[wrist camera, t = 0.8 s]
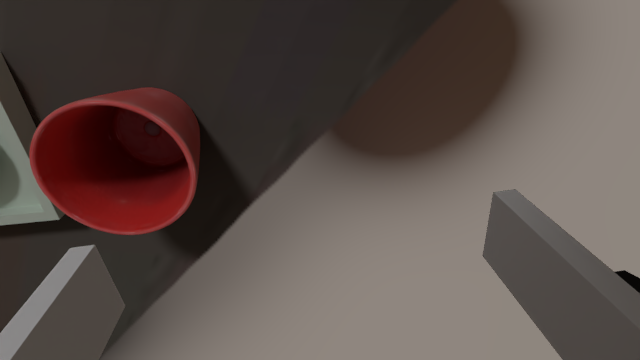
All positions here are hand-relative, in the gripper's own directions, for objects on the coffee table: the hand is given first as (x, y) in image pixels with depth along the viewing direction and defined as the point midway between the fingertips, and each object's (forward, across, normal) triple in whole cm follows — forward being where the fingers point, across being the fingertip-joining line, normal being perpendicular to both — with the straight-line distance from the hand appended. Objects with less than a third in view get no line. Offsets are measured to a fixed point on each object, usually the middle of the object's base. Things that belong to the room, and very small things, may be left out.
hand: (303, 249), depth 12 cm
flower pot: (+24, -13, -2) cm, 27 cm away
